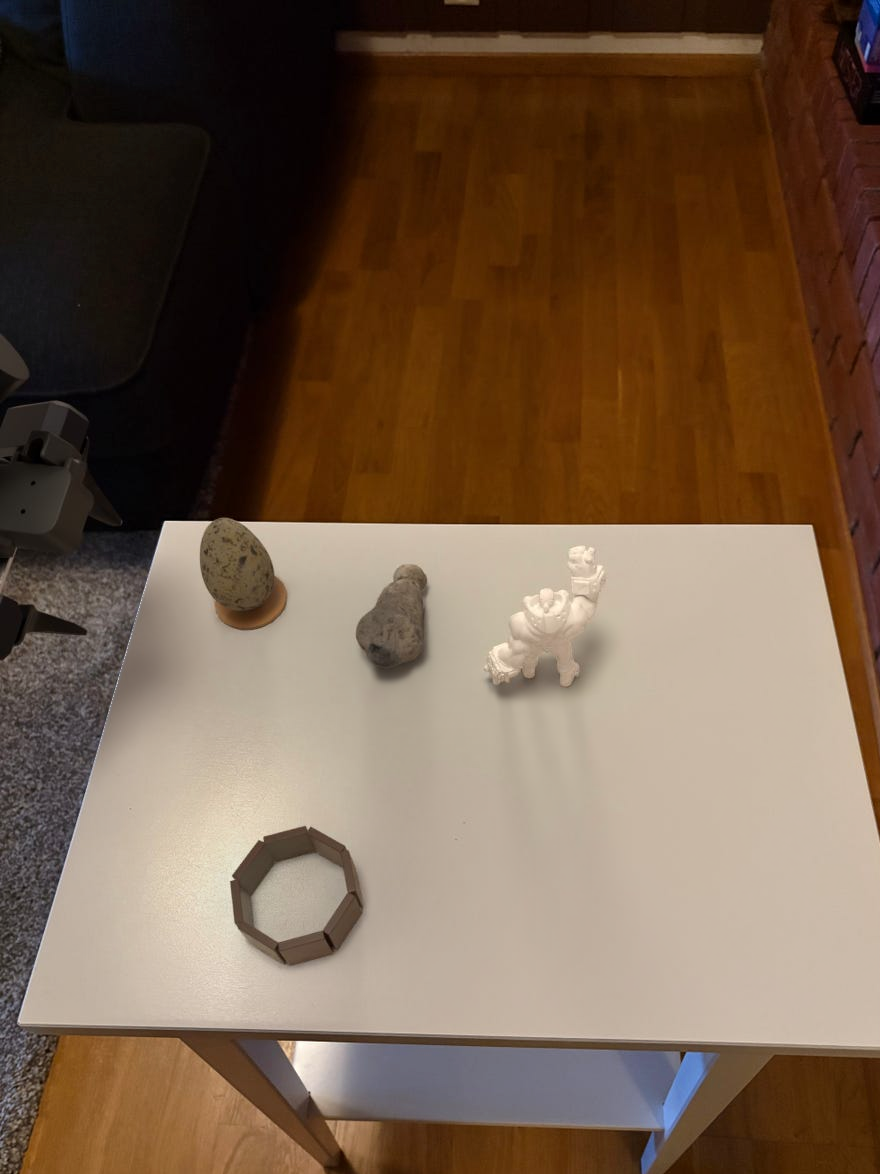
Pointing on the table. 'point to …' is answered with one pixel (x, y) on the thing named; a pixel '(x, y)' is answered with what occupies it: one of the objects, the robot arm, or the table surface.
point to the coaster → (256, 610)
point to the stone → (395, 620)
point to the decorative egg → (235, 565)
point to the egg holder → (258, 867)
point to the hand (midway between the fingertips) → (100, 577)
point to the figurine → (550, 623)
